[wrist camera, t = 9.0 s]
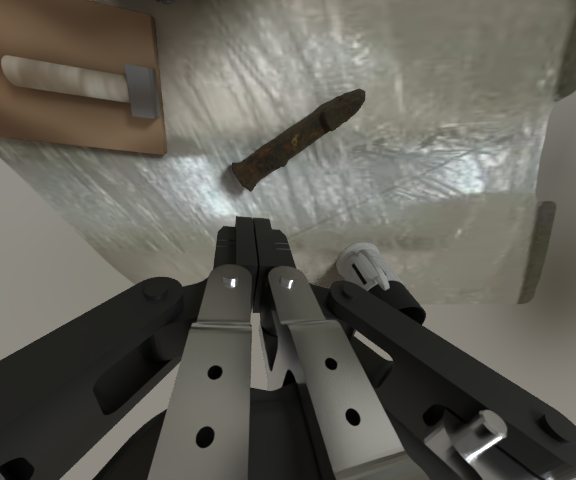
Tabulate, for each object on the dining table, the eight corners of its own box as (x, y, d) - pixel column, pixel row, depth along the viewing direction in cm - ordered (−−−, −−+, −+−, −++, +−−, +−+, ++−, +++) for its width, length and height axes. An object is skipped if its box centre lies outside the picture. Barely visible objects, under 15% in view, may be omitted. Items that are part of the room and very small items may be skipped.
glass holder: (343, 284, 50) (379, 350, 37) (320, 233, 42) (355, 296, 30) (382, 266, 49) (432, 327, 37) (366, 211, 41) (422, 266, 29)
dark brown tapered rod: (247, 185, 35) (248, 198, 31) (230, 162, 33) (229, 172, 29) (363, 111, 33) (380, 115, 29) (353, 80, 30) (370, 80, 27)
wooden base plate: (-86, -37, 20) (-152, -62, 17) (154, 18, 24) (140, 7, 21) (-11, 132, 27) (-47, 139, 23) (167, 152, 31) (158, 160, 27)
